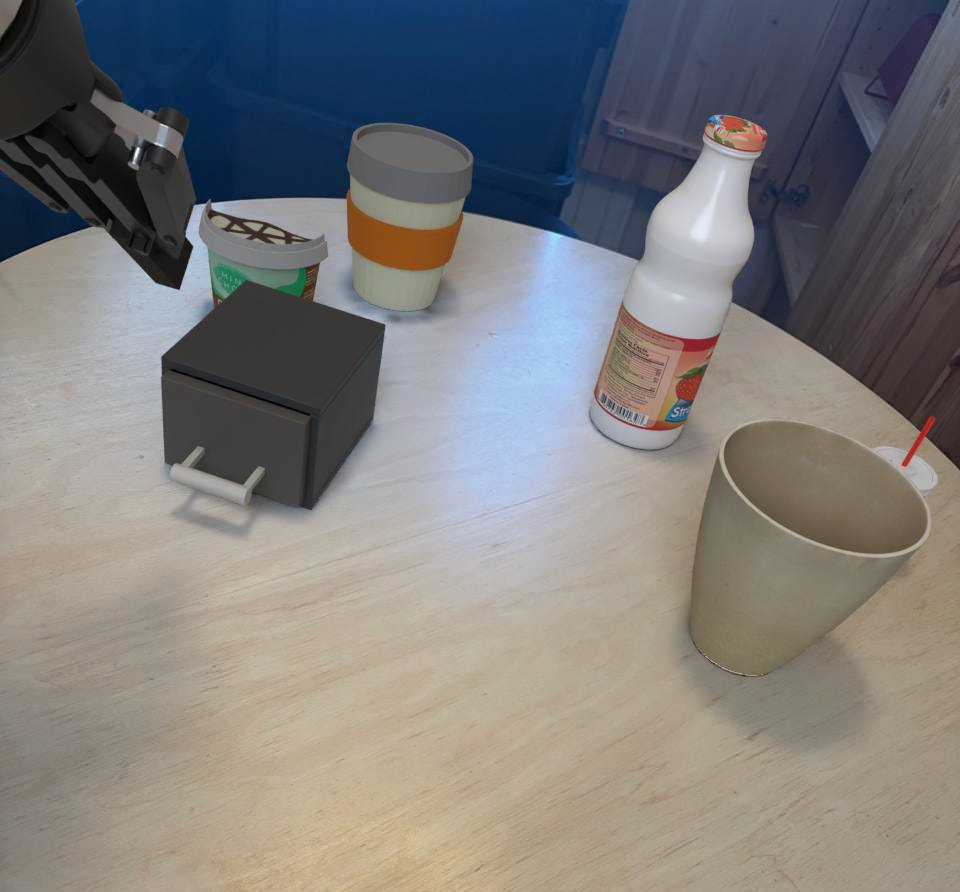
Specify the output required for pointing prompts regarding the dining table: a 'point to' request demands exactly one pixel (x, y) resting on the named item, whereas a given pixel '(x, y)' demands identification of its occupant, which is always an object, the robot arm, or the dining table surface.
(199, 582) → the dining table surface
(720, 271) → the fruit juice
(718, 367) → the dining table surface
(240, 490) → the drawer
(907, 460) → the beverage cup
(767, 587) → the plant pot
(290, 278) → the food container
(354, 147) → the reusable coffee cup
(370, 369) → the cabinet
